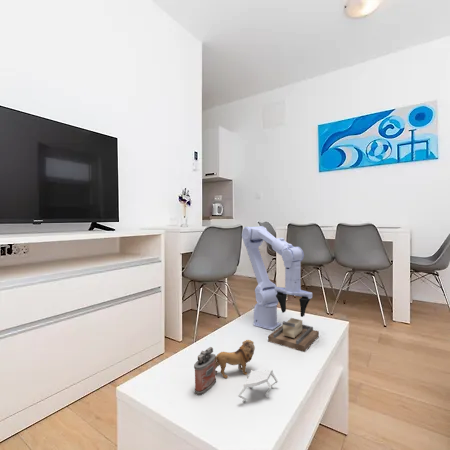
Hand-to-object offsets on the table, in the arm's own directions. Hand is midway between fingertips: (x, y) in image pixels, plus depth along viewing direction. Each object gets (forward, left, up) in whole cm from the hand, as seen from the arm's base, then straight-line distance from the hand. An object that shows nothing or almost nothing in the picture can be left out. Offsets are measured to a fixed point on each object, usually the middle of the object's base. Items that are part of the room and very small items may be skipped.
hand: (293, 313), depth 105 cm
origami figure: (+5, -38, -10) cm, 39 cm away
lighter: (-7, -43, -10) cm, 44 cm away
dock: (+1, -1, -9) cm, 9 cm away
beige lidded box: (+1, -1, -7) cm, 7 cm away
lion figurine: (-5, -32, -10) cm, 34 cm away
